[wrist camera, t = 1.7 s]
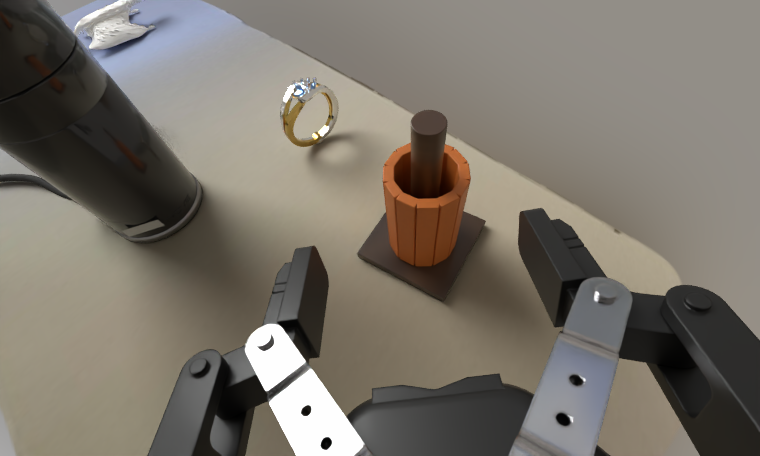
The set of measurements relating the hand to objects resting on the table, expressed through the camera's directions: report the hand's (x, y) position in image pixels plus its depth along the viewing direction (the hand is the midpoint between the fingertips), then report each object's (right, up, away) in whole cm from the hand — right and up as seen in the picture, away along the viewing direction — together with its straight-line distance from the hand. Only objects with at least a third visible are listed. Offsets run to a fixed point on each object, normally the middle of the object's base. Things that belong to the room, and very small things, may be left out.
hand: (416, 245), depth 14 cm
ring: (-9, +11, +28) cm, 32 cm away
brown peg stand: (+3, -1, +20) cm, 20 cm away
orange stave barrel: (+3, 0, +20) cm, 20 cm away
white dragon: (-46, +32, +44) cm, 71 cm away
